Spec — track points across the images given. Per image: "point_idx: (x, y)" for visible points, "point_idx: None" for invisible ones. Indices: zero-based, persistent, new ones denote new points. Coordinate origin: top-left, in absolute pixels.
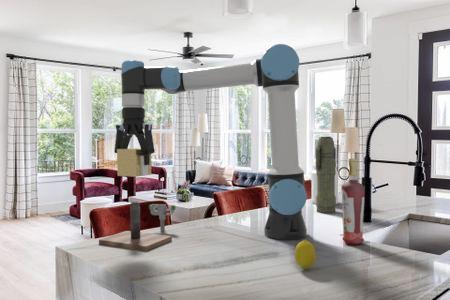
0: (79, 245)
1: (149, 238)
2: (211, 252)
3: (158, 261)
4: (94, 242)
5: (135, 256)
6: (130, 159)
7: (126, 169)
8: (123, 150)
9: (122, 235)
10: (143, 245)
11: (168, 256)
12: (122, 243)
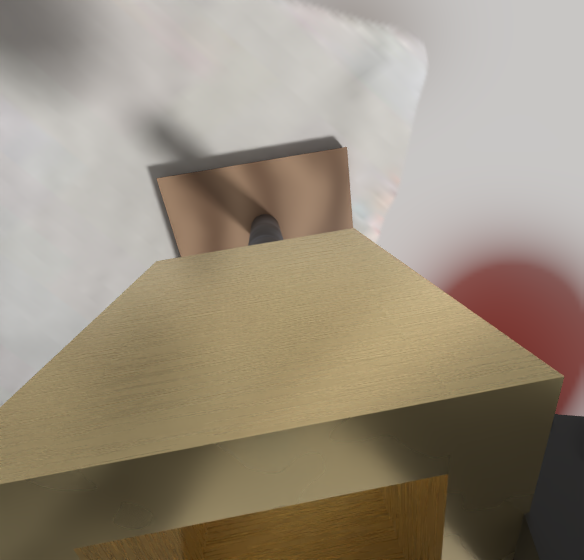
0: (384, 99)
1: (226, 247)
2: (12, 273)
3: (37, 119)
4: (370, 153)
5: (137, 116)
6: (175, 320)
7: (257, 261)
8: (335, 391)
9: (322, 225)
10: (172, 180)
11: (63, 176)
12: (250, 163)
